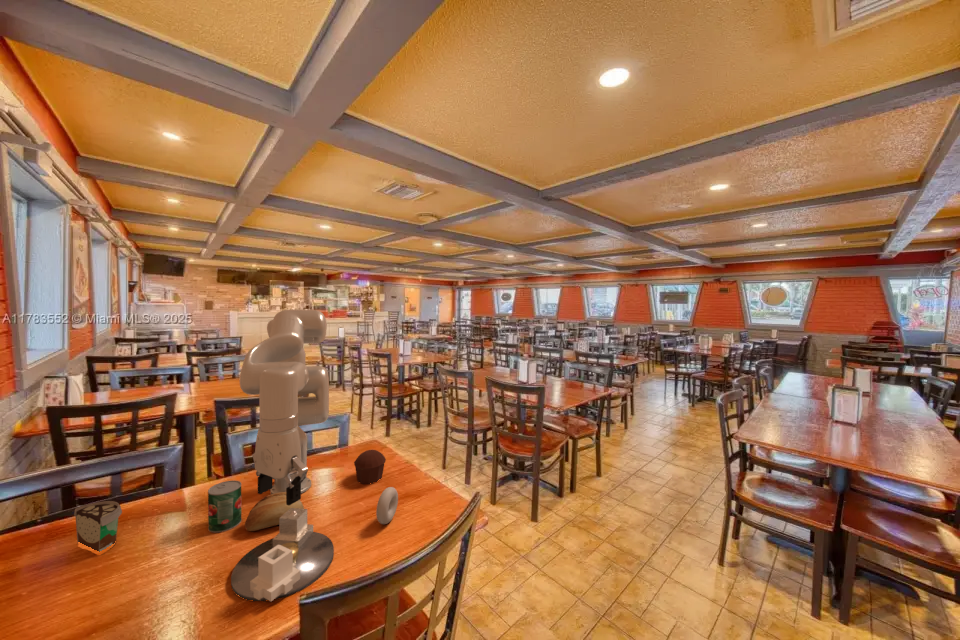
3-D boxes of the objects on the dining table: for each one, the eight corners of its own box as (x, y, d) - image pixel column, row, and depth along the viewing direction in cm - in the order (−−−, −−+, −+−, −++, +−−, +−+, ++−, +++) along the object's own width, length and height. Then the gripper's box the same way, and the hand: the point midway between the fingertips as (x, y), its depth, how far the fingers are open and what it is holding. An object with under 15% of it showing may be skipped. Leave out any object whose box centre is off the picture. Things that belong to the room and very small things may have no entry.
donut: (384, 532, 100) (385, 498, 99) (373, 531, 100) (374, 496, 100) (399, 512, 110) (400, 481, 109) (389, 511, 110) (389, 480, 110)
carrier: (209, 580, 81) (209, 542, 81) (294, 527, 101) (294, 496, 101) (272, 616, 72) (272, 574, 72) (352, 550, 92) (352, 517, 92)
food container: (133, 542, 94) (133, 505, 93) (102, 557, 88) (101, 518, 87) (105, 531, 98) (105, 496, 97) (74, 545, 92) (73, 508, 92)
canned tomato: (247, 520, 104) (247, 484, 104) (218, 536, 97) (218, 496, 96) (231, 513, 107) (231, 478, 107) (202, 527, 100) (201, 490, 100)
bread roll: (243, 523, 103) (243, 497, 102) (300, 507, 112) (300, 482, 111) (246, 541, 95) (246, 512, 95) (306, 522, 104) (306, 495, 104)
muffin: (379, 487, 125) (380, 459, 125) (348, 486, 125) (349, 458, 125) (389, 471, 137) (389, 446, 136) (360, 470, 137) (361, 445, 137)
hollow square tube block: (243, 591, 77) (243, 560, 77) (280, 565, 85) (281, 536, 85) (269, 606, 73) (269, 574, 73) (306, 577, 81) (306, 548, 81)
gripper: (238, 421, 80) (238, 494, 80) (289, 435, 72) (289, 516, 73) (270, 412, 86) (270, 480, 87) (320, 424, 79) (319, 498, 80)
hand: (279, 496), depth 80 cm, fingers open, 9 cm apart
